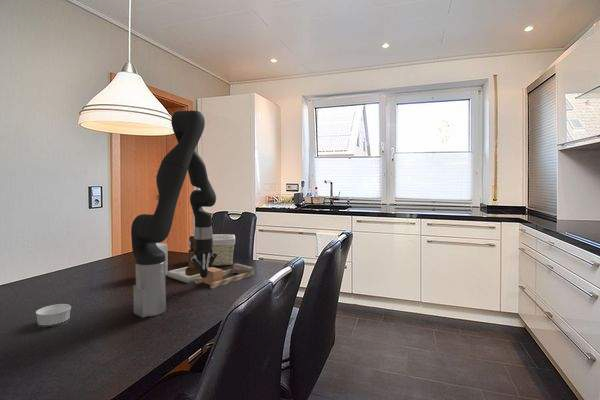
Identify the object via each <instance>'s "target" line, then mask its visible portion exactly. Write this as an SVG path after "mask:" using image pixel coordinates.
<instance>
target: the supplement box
mask: <svg viewBox="0 0 600 400" xmlns="http://www.w3.org/2000/svg"><path fill="white" fill-rule="evenodd" d="M156 245H157V247H158V248H159V249H160V250H162V251H163V252H164V253H165V266H166V276H168V271H169V270H168V265H169V264H168V262H169V261H168V258H169V257H168V254H169V253H168V245H169V244H168V243H162V242H160V243H156Z"/></svg>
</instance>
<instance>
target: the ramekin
mask: <svg viewBox="0 0 600 400" xmlns="http://www.w3.org/2000/svg"><path fill="white" fill-rule="evenodd" d="M71 309H72V306H71V304H68V303H57V304H52V305H47V306H43V307H41V308H39V309H37V310H36V311H35V315H36V322H37V325H38V324H39V325H52V324H57V323H61V322H64V321H66V320H68V319H69V320H70V317H71V315H70V314H71ZM69 320H68V321H69ZM39 325H38V326H39Z"/></svg>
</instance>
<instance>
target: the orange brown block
mask: <svg viewBox="0 0 600 400" xmlns="http://www.w3.org/2000/svg"><path fill="white" fill-rule="evenodd" d="M207 271H208V274H207V277H205V278H203V282H202V283H204V284H206V285H209V286H210V283H213V282H217V281H220V280H223V279H224V276H223V271H224V269H222V268H217V267H214V266H210V267H209V268H208V269H207Z"/></svg>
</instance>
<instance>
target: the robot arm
mask: <svg viewBox="0 0 600 400" xmlns="http://www.w3.org/2000/svg"><path fill="white" fill-rule="evenodd" d="M205 124H206V120H205V117H204V114H203V113H202V112H201V111H198V110H194V109H193V110H177V111H175V112H173V113H172V115H171V127H172V131H173V134H174V136H175V139H176V140H177V144H176V145H175V146H174V147H173V148H172V149H171V150H169V151H168V153H166V155H164V157H163V159H162V160H161V162H160V164H159V167H158V170H157V173H156V177H155V178H156V179H155V180H156V188H157V191H158V202H157V205H156V208H155V210H154V213H153V214H148V213H145V214H144V213H142V214H138V215H137V216H136V217H135V218H134V219H133V221H132V222H131V223H132V224H131V228H130V233H131V234H130V235H131V236H130V237H131V248H132V254H133V258H134V259H135V284H133V287H132V290H133V297H132V299H133V314H134V315H136V316H138V317H141V318H142V319H143V318H146V317H147V318H148V317H154V316H155V317H156V316H158V315H159V316H160V315H161V314H163V313H165V312H166V310H167V292H166V291H167V288H166V287H167V286H166V285H167V283H166V276H167V275H166V266H165V253H164V252H163V251H162V250H160V249H159V248H158V247H157V245H156V243H163V242H164V241H166V239H167V238H168V237H169V234H170V232H171V229H172V225H173V221H174V217H175V213H176V212H175V211H176V207H177V204H178V199H179V198H180V194H181V190H182V187H183V185H184V182H185V180H186V177H187V175H188V176H189V180H190V184H191V186H192V187H195V188H198V189H195V190H193V191H192V192H191V193H190V196H189V202H190V206H191V210H192V213H193V217H194V230H193V235H194V248H195V252H194V256H193V257H192V258H190V259H189V260H190V261H191V262H192V264H193V265H194V266H195V267H196V268H198V269H200V276H201V277H202V278H205V277H207V274H208V271H207V269H208V267H209V268H210V267H212V266H213V265H212V264H213V262H214V260H215V258H216V256H217V254H215V253H213V250H212V247H213V234H214V233H213V217H212V213H210V212H207V211H205V210H204V209H203V207H205V208H211V207H213V206H214V205H216V202H217V194H216V192H215V190H214V188H213V185H212V184H211V182H210V180H209V177H208V171H207V167H206V163H205V162H204V160H203V157H201V156H200V154H199V153H198V151H197V150H196V148H197V146H198V143H199V141H200V140H201V137H202V134H203V133H204V129H205ZM187 173H188V174H187ZM197 259H198V262H197ZM211 265H212V266H211Z"/></svg>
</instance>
